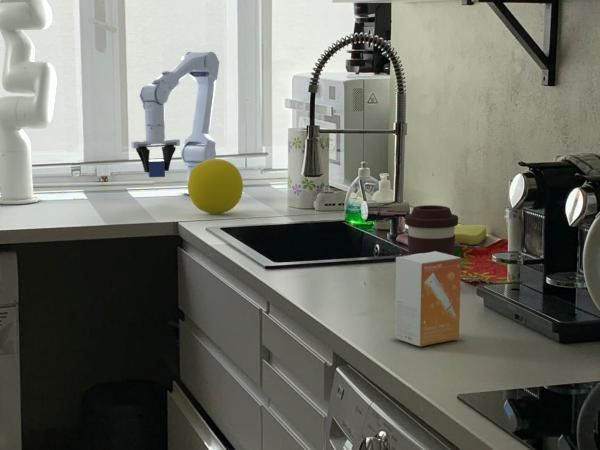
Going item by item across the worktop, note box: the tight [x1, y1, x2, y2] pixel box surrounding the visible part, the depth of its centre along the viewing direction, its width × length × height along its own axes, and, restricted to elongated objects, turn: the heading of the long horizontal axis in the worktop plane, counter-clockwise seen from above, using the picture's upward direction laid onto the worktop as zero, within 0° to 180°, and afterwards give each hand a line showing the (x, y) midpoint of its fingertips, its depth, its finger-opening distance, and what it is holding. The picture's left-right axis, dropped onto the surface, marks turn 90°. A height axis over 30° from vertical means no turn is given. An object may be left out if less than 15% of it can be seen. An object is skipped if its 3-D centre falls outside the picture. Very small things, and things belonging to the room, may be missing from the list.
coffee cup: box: [404, 204, 459, 256], centre depth 197 cm, size 10×10×15 cm
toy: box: [187, 158, 244, 215], centre depth 287 cm, size 15×15×15 cm
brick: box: [147, 158, 166, 178], centre depth 309 cm, size 5×5×5 cm
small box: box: [394, 251, 462, 347], centre depth 161 cm, size 8×6×13 cm
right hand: (156, 171), depth 309 cm, fingers closed on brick, 5 cm apart
